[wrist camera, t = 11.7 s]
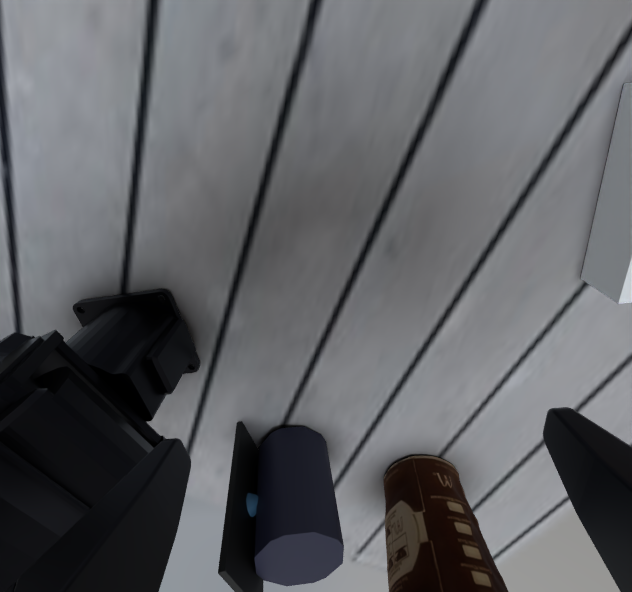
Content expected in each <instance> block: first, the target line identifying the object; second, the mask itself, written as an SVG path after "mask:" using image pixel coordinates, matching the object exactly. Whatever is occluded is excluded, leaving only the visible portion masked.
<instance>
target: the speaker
mask: <svg viewBox="0 0 632 592" xmlns="http://www.w3.org/2000/svg"><path fill="white" fill-rule="evenodd" d="M343 551H344V545H343V539H342V533H341V527H340V521H339V516H338V510H337V504H336V498H335V492H334V486H333V480H332V474H331V468H330V462H329V457H328V451H327V445H326V441H325V439H324V438H323V436H322V435H321V434H319V433H317V432H315V431H312V430H310V429H308V428H306V427H304V426H303V427H291V428H281V429H279V430H276V431H274V432H272V433H271V434H270V435H269V436H268V437H267V438H266V440H265V441H264V442H263V443H262V444H261V445H260V447H259V450H258V448H257V446H256V445H255V443H254V441H253V440H252V438H251V436H250V435H249V433H248V431H247V429H246V428H245V426H244V424H243V423H242V421H241V422H238V423H237V427H236V434H235V442H234V450H233V458H232V466H231V474H230V482H229V490H228V498H227V506H226V514H225V522H224V530H223V539H222V546H221V553H220V561H219V569H218V574H219V575H220V576H221V577H222V578H223V579H224V580H225V581H226V582H227V583H228V585H229V586H230V587H231V588H232V589H233V590H234V591H235V592H263V580H265V581H269V582H273V583H277V584H280V585H284V586H292V585H299V584H306V583H314V582H316V581H319V580H321V579H324V578H326V577H327V576H328V575H329V574H330V573H332V572H333V571H334V570H335V569H336V568H338V567H339V566H340V565H341V564H342V563H343Z"/></svg>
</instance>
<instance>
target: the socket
mask: <svg viewBox="0 0 632 592" xmlns="http://www.w3.org/2000/svg"><path fill="white" fill-rule="evenodd" d="M581 279H582V280H583V281H585V282H586V283H588V284H589V285H591V286H592V287H594V288H595V289H597V290H598V291H600V292H601V293H603V294H604V295H606V296H607V297H609V298H610V299H612V300H613V301H615V302H616V303H618V304H621V303H630V302H632V82H631V83H626V84H624V85H623V90H622V94H621V99H620V103H619V108H618V112H617V117H616V121H615V126H614V130H613V135H612V139H611V144H610V148H609V153H608V157H607V162H606V166H605V171H604V175H603V180H602V184H601V189H600V193H599V198H598V202H597V207H596V211H595V216H594V220H593V225H592V229H591V234H590V238H589V243H588V247H587V252H586V256H585V261H584V265H583V270H582V274H581Z"/></svg>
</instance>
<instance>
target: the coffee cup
mask: <svg viewBox="0 0 632 592" xmlns="http://www.w3.org/2000/svg"><path fill="white" fill-rule="evenodd" d="M384 490H385V500H386V515H385V532H386V549H387V571H388V583H389V592H508V590H507V588H506V586H505V583H504V581H503V578H502V576H501V575H500V573H499V571H498V569H497V567H496V565H495V563H494V561H493V559H492V556H491V554H490V552H489V549H488V547H487V545H486V542H485V540H484V538H483V536H482V534H481V531H480V528H479V524H478V521H477V519H476V517H475V515H474V514H473V512H472V510H471V508H470V506H469V503H468V501H467V499H466V497H465V494H464V490H463V488H462V486H461V483H460V481H459V474H458V472H457V470H456V469H455V467H454V466H453V465H452V464H450V463H449V462H447V461H445V460H443V459H441V458H438V457H434V456H412V457H408V458H406V459H403V460H401V461H399V462H397V463H395V464H394V465H392V466H391V467H390V468H389V469H388V471H387V473H386V475H385V477H384Z"/></svg>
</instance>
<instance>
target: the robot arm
mask: <svg viewBox="0 0 632 592" xmlns="http://www.w3.org/2000/svg"><path fill="white" fill-rule="evenodd" d="M160 295H161V296H164V297H165V299H162V298H161V297H160ZM81 307H82V308H83V309H84V310H83V309H82V308H81ZM73 311H74V312H75V314H76V316H77V318H78V319H79V321H80V323H81V324H82V326H83V328H82V329H81V330H79V331H78V332H77V333H76V334H75V335H74V336H73V337H72V338H70V339H69V340H68V341H67V342H66V343H65V342H64V341H63V339H64V337H63V336H62V335H61V334H60V333H59V332H58V331H57V330H54V331H52V332H50V333H48V334H46V335H44V336H42V337H40V336H38V337H36V338H35V337H34V336H32V337H30V336H27V335H23V334H19V333H13V334H11V335H9V336H7V337H5V338H4V339H2V340H1V341H0V592H158V591H159V588H160V585H161V582H162V579H163V576H164V572H165V569H166V566H167V563H168V559H169V556H170V553H171V549H172V546H173V543H174V540H175V536H176V533H177V529H178V525H179V520H180V516H181V511H182V506H183V502H184V497H185V492H186V488H187V483H188V478H189V473H190V469H191V459H190V456H189V454H188V453H187V451H186V449H185V447H184V445H183V443H182V441H181V440H180V439H178V438H175V439H166V438H165V437H164V436H160V435H159V434H158V433H157V432H156V431H155V430H154V429H153V428H152V427H151V426H150V425H149V424H148V423H147V422H146V421H151V420H152V419H153V417H154V415H155V414H156V412H157V410H158V408H159V407H160V405H161V403H162V401H163V400H164V398H165V396H166V394H171V393H172V392H173V391H174V389H175V387H176V385H177V384H178V382H179V380H180V378H181V376H182V374H185V373H194V372H197V371H198V369H199V367H200V361H199V359H198V356H197V354H196V352H195V351H196V348H195V345H194V343H193V341H192V338H191V336H190V334H189V331H188V329H187V326H186V324H185V322H184V320H183V319H182V318H181V316H180V314H179V311H178V309H177V307H176V304H175V302H174V299H173V297H172V295H171V293H170V292H169V291H168V290H165V289H157V290H150V291H143V292H136V293H129V294H122V295H115V296H108V297H101V298H94V299H87V300H81V301H78V302H77V303H76V304H74V306H73ZM191 364H192V365H194V366H192V365H191ZM543 437H544V441H545V444H546V446H547V449H548V451H549V453H550V455H551V458H552V460H553V462H554V464H555V467H556V469H557V471H558V473H559V476H560V478H561V480H562V482H563V485H564V487H565V489H566V491H567V494H568V496H569V498H570V500H571V502H572V505H573V507H574V509H575V511H576V513H577V515H578V516H579V518H580V520H581V522H582V524H583V526H584V528H585V529H586V531H587V533H588V535H589V536H590V538H591V540H592V542H593V544H594V545H595V547H596V549H597V550H598V552H599V554H600V556H601V557H602V559H603V561H604V563H605V564H606V567H607V568H608V570H609V572H610V574H611V575H612V577H613V579H614V580H615V582H616V584H617V586H618V588H619V589H620V591H621V592H632V447H631V446H630V445H628V444H627V443H625V442H623V441H622V440H620V439H619V438H617V437H616V436H614V435H612V434H611V433H609V432H608V431H606V430H605V429H603V428H602V427H600V426H598V425H597V424H595V423H594V422H592V421H591V420H589V419H587V418H586V417H584V416H583V415H581V414H580V413H578V412H576V411H575V410H573V409H571V408H568V407H563V408H552V409H550V410H549V411H548V412H547V416H546V421H545V426H544V430H543Z"/></svg>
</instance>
